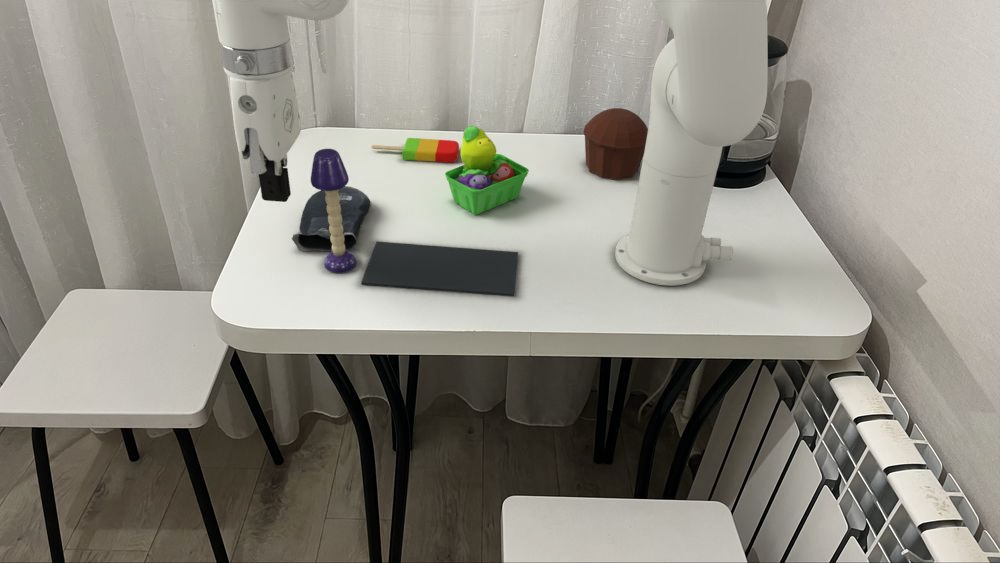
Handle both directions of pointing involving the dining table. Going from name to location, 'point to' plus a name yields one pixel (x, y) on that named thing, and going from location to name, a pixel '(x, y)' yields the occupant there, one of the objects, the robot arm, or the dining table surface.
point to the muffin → (615, 143)
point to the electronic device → (317, 225)
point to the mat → (442, 268)
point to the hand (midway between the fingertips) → (276, 197)
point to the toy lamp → (333, 206)
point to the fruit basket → (484, 174)
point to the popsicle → (426, 150)
